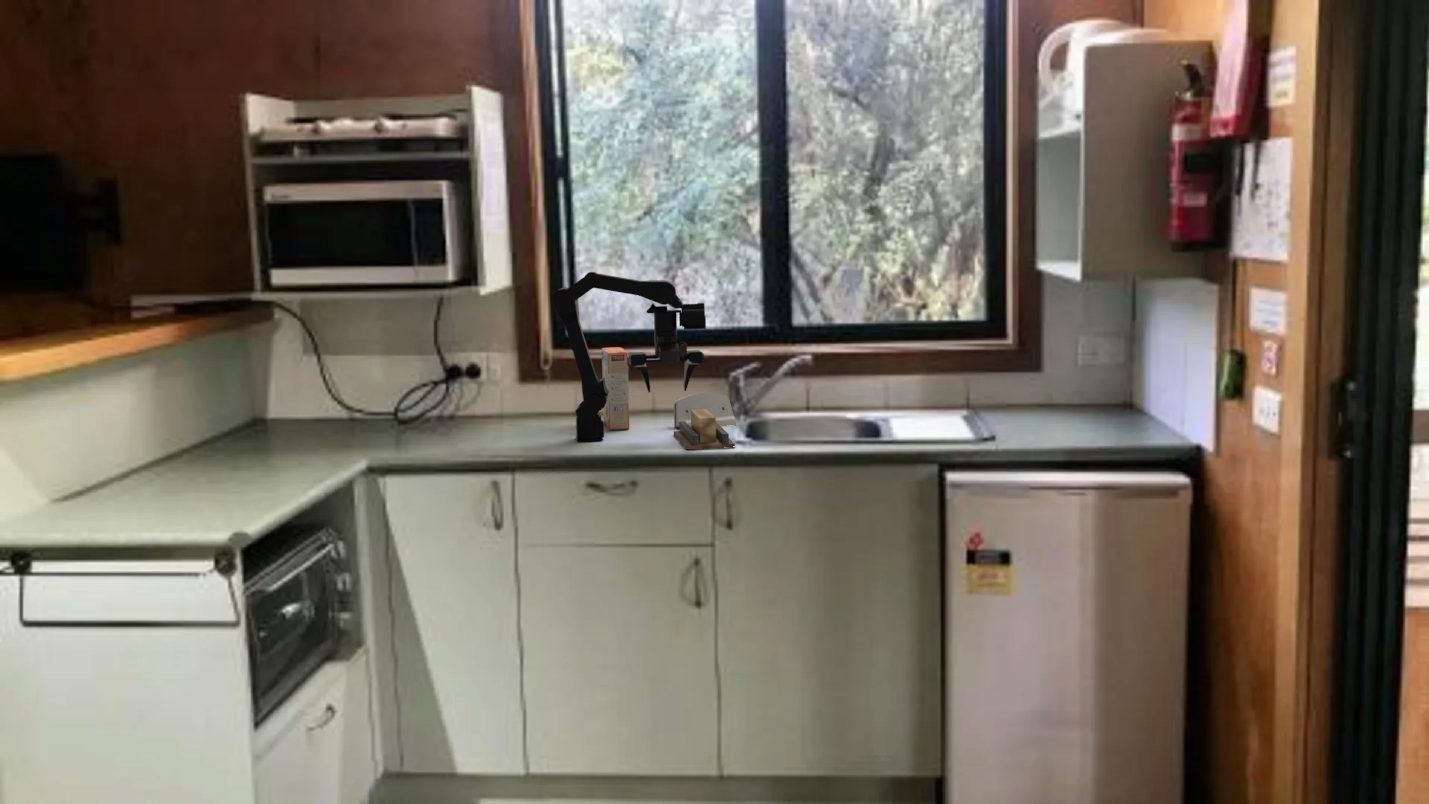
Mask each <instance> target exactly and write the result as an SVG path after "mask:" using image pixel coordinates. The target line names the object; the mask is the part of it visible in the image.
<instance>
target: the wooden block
mask: <svg viewBox="0 0 1429 804" xmlns="http://www.w3.org/2000/svg"><path fill="white" fill-rule="evenodd" d="M691 428H692V429H693V430H694V431H695V432H696V433H697V434H698V439H699V442H716V418H715V417H714V416H713V415H712V414H711V413H710V412H709V411H708V410H706V409H700V410H691Z"/></svg>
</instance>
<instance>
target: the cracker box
mask: <svg viewBox="0 0 1429 804" xmlns="http://www.w3.org/2000/svg"><path fill="white" fill-rule="evenodd" d="M601 358H602V359H601V366H602V367H601V369H602V370H601V371H602V378H605V384H606V388H607V389H608V391H609V394H608V398H607V402H606V404H605V406H604V408H603V409H602V411H603V415H602V416H603V422H604V426H606V427H607V429H608V430H609V431H620V430H622V431H623V430H629V429H630V401H629V400H630V398H629V397H630V394H629V393H630V390H629V352H628V351H626V350H625V349H624V348H623V347H618V346H617V347H615V346H612V347H602V348H601Z"/></svg>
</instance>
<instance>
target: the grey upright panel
mask: <svg viewBox="0 0 1429 804" xmlns="http://www.w3.org/2000/svg"><path fill="white" fill-rule="evenodd" d="M700 409H706V410H708V411H709V412H710V413H711V414H712V415H713V416H714V417H715V418H716V423H717V424H719V425H720V426H724V427H728V426H727V425H735V426H737V425H736V424H737V420H736V417H735V416H734V412H733V409H732V406H731V401H730V398H729V396H728V395H724V394H721V393H715V392H700V393H699V392H698V393H693V394H688V395H686V396H684V397H681V398H680V399H678V400H676V401H674V403H673V426H674V429H677V427H678V428H679V421H685V422H686V423H687V424H688V425H689V426H690V427H691V410H700Z"/></svg>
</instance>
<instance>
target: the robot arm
mask: <svg viewBox="0 0 1429 804" xmlns="http://www.w3.org/2000/svg"><path fill="white" fill-rule="evenodd" d="M592 289H598V290H605V291H610V292H614V293H615V292H616V293H621V294H628V295H632V296H633V295H634V296H637V297H638V296H639V297H641V298H644V299H646V300H649V301H651V302H652V303H651V305H650V307H649V308H647V309H646V311H645V312H646V313H647V314H653V328H654V354H647V353H645V352H644V351H643V352H641V351H640V352H638V351H637V352H630V353H628V365H630V366H631V367H634V368H635V369H636V370H639V372H640V374H641V376H642V379H643V382H644V384H645V387H646V389H647V392H648V393H649V394H650V393H651V383H650V376H649V368H648V367H649V366H647V363H662V364H666V363H679V362H684V366H683V367H684V370H683V371H684V372H683V373H684V374H683V391H684V392H686V391H687V390H688V385H689V383H690V378H691V375H692V374H693V372H694V370H695V368H697V367H700V364H704V363H705V353H704V352H702V351H701V350H699V349H694V350H693V349H691V350H688V344H687V342H685V341H680V342H678V333H677V332H678V328H677V327H678V322H677V318H678V317H679V320H678V321H679V327H682V328H683V331H697V330H699V331H700V330H701V331H702V330H703V331H704V330H705V331H706V329H707V325H706V323H707V321H706V320H707V319H706V311H705V303H704V302H697V303H684V302H683V301H682V299H680V298H679V296H678V295H677V289H676V286H675V285H674V283H673V282H671V281H669V280H663V279H662V280H661V279H659V280H658V279H657V280H656V279H655V280H639V279H632V278H626V277H620V276H615V275H609V274H604V273H603V274H602V273H598V272H596V271H589V272H588V273H586V274H585V275H584V276H583V277H582V278H581V279H579V280H578V281H577V282H575V283H574V284H572V285H571V286H569V287H561V288H559V289H558V290H556V291H555V292H554V294H553V295H552V298H551V302H552V303H551V304H552V305H553V308H554V310H555V312H556V313H557V316H558V317H559V319H560V320H561V322H562V324H563V325H564V327H565V330H566V333H567V338H568V340H569V344H570V348H571V349H572V350H571V351H572V353H573V356H574V359H575V360H574V361H575V363H576V367H577V369H578V372H579V376H580V380H581V391H582V393H581V394H582V401H581V403H579V404H578V405H577V407H576V408H575V414H576V415H575V433H576V435H575V439H576V442H577V443H581V442H601V441H603V440H604V439H603V438H605V428H604V427H605V423H604V419H602V415H601V414H599V412H600V411H603V408H604V406H605V404H606V402H607V398H608V394H609V391H608V389H607V388H606V384H605V378H603V377H602V378H599V376H598V374H597V372H596V370H595V367H594V364H593V360H592V357H591V354H590V352H589V351H590V350H589V348H588V347H589V346H588V345H587V341H586V339H585V335H584V332H583V328H582V325H581V322H580V314H579V312H580V311H579V304H578V303H579V302H578V299H580V298H582V296H584V295H586V294H587V293H588V292H590V291H591V290H592ZM653 302H655V303H657V304H659V305H658V306H657V305H655V303H653ZM667 305H669V306H670V307H672V308H674V309H668V306H667ZM677 314H679V315H678V317H677Z"/></svg>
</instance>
